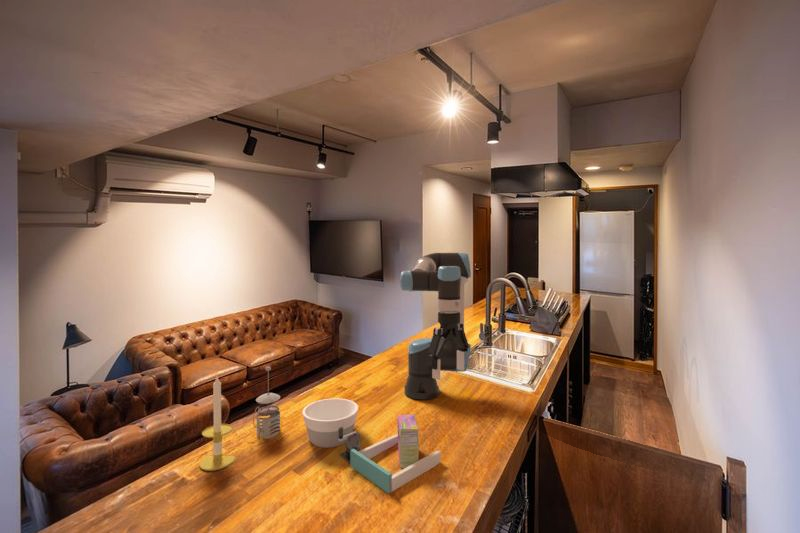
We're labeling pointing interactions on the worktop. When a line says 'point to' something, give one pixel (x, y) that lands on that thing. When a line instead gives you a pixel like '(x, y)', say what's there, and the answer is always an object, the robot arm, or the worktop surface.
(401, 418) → the box
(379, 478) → the bay
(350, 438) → the winch
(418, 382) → the robot arm
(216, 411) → the candle
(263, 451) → the worktop surface
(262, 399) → the french press
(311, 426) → the bowl
